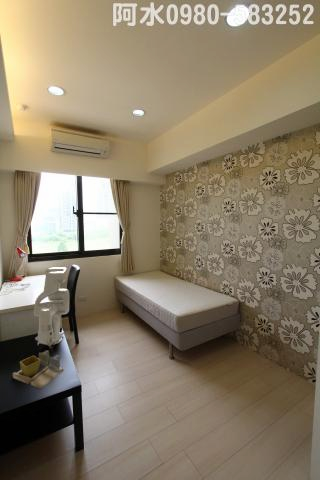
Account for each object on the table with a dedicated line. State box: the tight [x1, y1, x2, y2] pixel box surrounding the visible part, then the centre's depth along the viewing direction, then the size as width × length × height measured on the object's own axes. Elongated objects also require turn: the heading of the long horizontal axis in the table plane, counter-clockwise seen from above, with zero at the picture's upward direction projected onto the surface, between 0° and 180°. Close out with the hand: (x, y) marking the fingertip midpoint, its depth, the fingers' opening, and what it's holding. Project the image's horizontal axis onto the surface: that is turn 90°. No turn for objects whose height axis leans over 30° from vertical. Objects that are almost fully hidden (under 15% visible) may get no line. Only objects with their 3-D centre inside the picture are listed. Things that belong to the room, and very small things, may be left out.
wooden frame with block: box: [12, 350, 50, 385], centre depth 143 cm, size 20×14×8 cm
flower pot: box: [19, 355, 41, 378], centre depth 139 cm, size 9×9×9 cm
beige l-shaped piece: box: [30, 354, 64, 389], centre depth 137 cm, size 17×8×10 cm, turn 160°
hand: (45, 351), depth 150 cm, fingers open, 9 cm apart
